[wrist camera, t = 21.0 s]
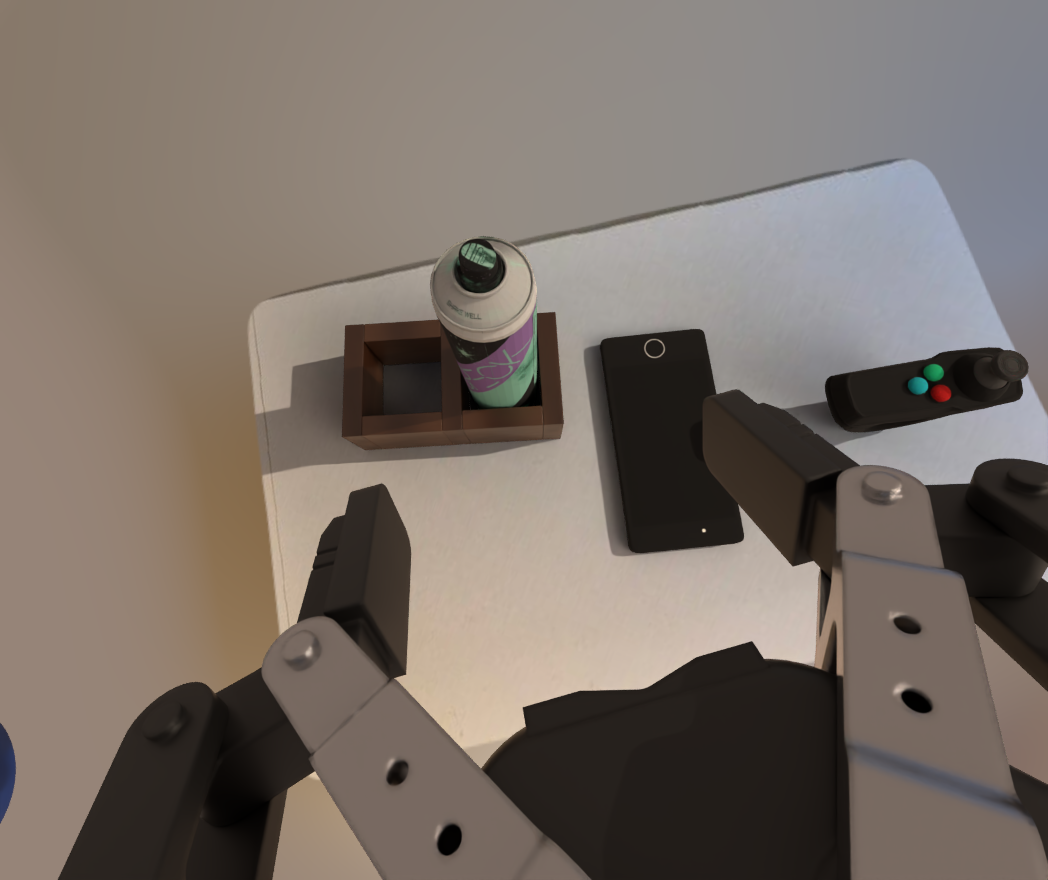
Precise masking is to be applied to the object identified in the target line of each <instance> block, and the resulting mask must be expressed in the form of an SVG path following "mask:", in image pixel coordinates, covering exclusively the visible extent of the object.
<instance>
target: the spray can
mask: <svg viewBox="0 0 1048 880" xmlns="http://www.w3.org/2000/svg"><path fill="white" fill-rule="evenodd" d="M430 289H431V296H432V303H433V306H434V309H435V312H436V314H437V317H438V319H439V321H440V324H441V326H442V328H443V331H444V333H445V335H446V337H447V340H448V342H449V344H450V347H451V349H452V351H453V354H454V356H455V358H456V360H457V363H458V365H459V367H460V370H461V372H462V374H463V376H464V379H465V381H466V383H467V386H468V388H469V390H470V393H471V395H472V397H473V399H474V402H475V404H476V406H477V407H478V409H495V408H512V407H528V406H533V405H534V403H535V400H536V395H537V289H536V281H535V278H534V274H533V270H532V267H531V264H530V262H529V261H528V259H527V257H526V256H525V255H524V254H523V253H522V252H521V251H520V249H518V248H517V247H516V246H514V245H513V244H511V243H509V242H507V241H505V240H503V239H499V238H494V237H484V236H483V237H482V236H481V237H473V238H469V239H466V240H463V241H461V242H459V243H457V244H455V245H453V246H452V247H450V248H449V249H448V250H446V251H445V252H444V254H443V255H442V256H441V257H440V258H439V260H438V261H437V263H436V264H435V266H434V269H433V272H432V274H431V281H430Z"/></svg>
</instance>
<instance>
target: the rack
mask: <svg viewBox="0 0 1048 880" xmlns="http://www.w3.org/2000/svg"><path fill="white" fill-rule="evenodd" d="M537 359H538V374H539V389H540V405H541V406H528V407H512V408H495V409H479V410H470V390H469V388H468V386H467V383H466V381H465V379H464V376H463V374H462V372H461V370H460V367H459V365H458V363H457V360H456V358H455V356H454V354H453V351H452V349H451V347H450V344H449V342H448V340H447V337H446V335H445V333H444V331H443V328H442V326H441V324H440V321H439V320H426V321H410V322H395V323H379V324H365V325H364V324H361V325H346V326H345V349H344V384H343V419H342V437H343V438H345V439H347V440H349V441H350V442H352V443H354V444H356V445H357V446H359V447H361V448H363V449H364V450H375V449H393V448H409V447H426V446H443V445H453V444H454V445H459V444H471V443H472V444H476V443H492V442H509V441H526V440H542V439H560V438H561V434H562V429H563V424H564V420H563V407H562V394H561V380H560V367H559V354H558V341H557V327H556V314H555V312H549V313H537ZM427 362H441V380H442V412H429V413H412V414H396V415H383V365H395V364H411V363H427Z"/></svg>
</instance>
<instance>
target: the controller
mask: <svg viewBox="0 0 1048 880" xmlns="http://www.w3.org/2000/svg"><path fill="white" fill-rule="evenodd" d="M1027 373H1028V363H1027V361H1026V359H1025V358H1024V357H1023V356H1022V355H1021V354H1019V353H1017V352H1015V351H1011V350H1003V349H1001V348H990V347H988V348H978V349H967V350H956V351H947V352H942V353H939V354H937V355H936V356H934V357H932V358H929V359H926V360H919V361H913V362H907V363H901V364H896V365H890V366H884V367H878V368H873V369H867V370H861V371H856V372H850V373H845V374H839V375H834V376H830V377H829V378H828V379H827V381H826V384H825V392H826V397H827V401H828V405H829V407H830V410H831V413H832V416H833V418H834V420H835V421H836V423H838V424H839V425H840V426H841V427H843V428H844V429H845V430H847V431H849V432H870V431H879V430H885V429H891V428H897V427H902V426H906V425H911V424H916V423H920V422H925V421H929V420H933V419H937V418H942V417H945V416H949V415H953V414H958V413H963V412H969V411H974V410H979V409H984V408H988V407H992V406H996V405H1001V404H1005V403H1010V402H1014V401H1017V400H1019V399H1020V398H1021V396H1022V394H1023V388H1022V382H1021V379H1023V378H1024V377H1025V376H1026V374H1027Z"/></svg>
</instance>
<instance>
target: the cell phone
mask: <svg viewBox="0 0 1048 880" xmlns="http://www.w3.org/2000/svg"><path fill="white" fill-rule="evenodd" d="M600 350H601V356H602V363H603V370H604V377H605V384H606V391H607V397H608V404H609V411H610V418H611V425H612V432H613V439H614V446H615V453H616V460H617V466H618V473H619V480H620V487H621V494H622V501H623V508H624V515H625V522H626V529H627V536H628V544H629V548H630V550H631V551H632V552H635V553H648V552H657V551H667V550H677V549H687V548H696V547H706V546H716V545H726V544H735V543H739V542H741V541H742V540H743V539H744V532H743V527H742V522H741V516H740V511H739V506H738V503H737V502H736V501H735V500H734V498H733V497H732V496H731V495H730V494H729V493H728V492H727V490H726V489H725V488H724V487H723V486H722V485H721V484H720V482H719V481H718V480H717V479H716V478H715V477H714V476H713V474H712V473H711V472H710V470H709V469H708V467H707V464H706V462H705V459H704V455H703V401H704V399H705V398H706V397H709V396H713V395H716V390H715V385H714V379H713V374H712V369H711V364H710V359H709V354H708V349H707V344H706V339H705V334H704V332H703V331H702V330H700V329H690V330H681V331H671V332H662V333H652V334H643V335H633V336H624V337H614V338H607V339H604V340H602V342H601V345H600Z"/></svg>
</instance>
